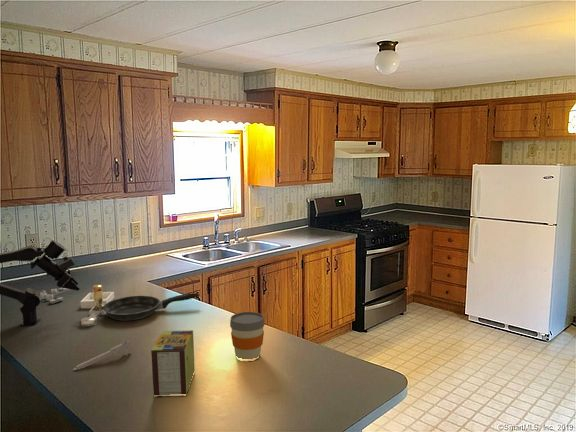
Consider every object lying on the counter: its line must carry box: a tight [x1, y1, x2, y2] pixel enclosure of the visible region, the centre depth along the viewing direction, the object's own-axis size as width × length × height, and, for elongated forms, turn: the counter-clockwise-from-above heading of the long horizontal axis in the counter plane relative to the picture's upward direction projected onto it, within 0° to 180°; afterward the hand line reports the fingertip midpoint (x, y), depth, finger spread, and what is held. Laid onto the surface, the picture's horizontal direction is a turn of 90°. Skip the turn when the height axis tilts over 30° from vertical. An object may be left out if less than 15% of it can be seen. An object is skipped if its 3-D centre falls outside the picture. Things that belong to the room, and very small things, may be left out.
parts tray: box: [80, 291, 115, 309], centre depth 231 cm, size 14×12×4 cm
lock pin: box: [92, 284, 104, 311], centre depth 217 cm, size 4×4×13 cm
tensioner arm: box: [80, 306, 107, 328], centre depth 210 cm, size 21×7×2 cm, turn 6°
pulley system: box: [37, 287, 71, 305], centre depth 242 cm, size 27×5×15 cm
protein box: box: [150, 330, 196, 396], centre depth 149 cm, size 10×15×16 cm
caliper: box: [72, 338, 132, 372], centre depth 167 cm, size 20×1×6 cm, turn 131°
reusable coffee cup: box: [229, 311, 266, 359], centre depth 170 cm, size 13×13×15 cm
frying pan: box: [103, 292, 200, 322], centre depth 218 cm, size 44×25×7 cm, turn 107°
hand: (78, 287), depth 212 cm, fingers open, 9 cm apart
